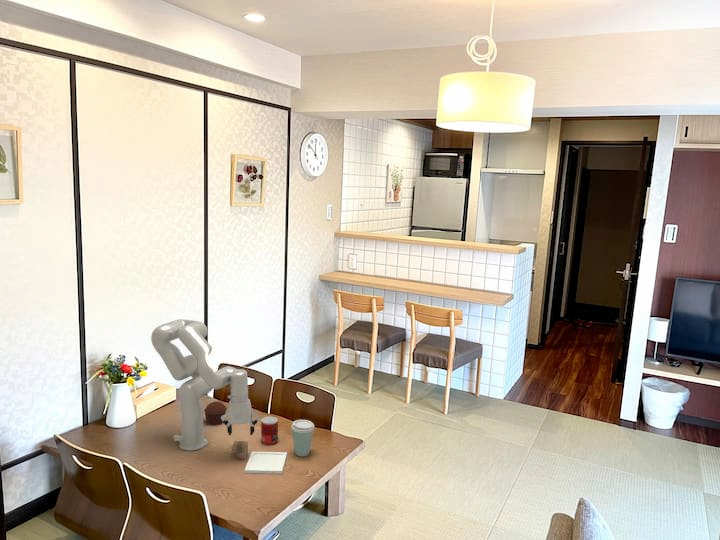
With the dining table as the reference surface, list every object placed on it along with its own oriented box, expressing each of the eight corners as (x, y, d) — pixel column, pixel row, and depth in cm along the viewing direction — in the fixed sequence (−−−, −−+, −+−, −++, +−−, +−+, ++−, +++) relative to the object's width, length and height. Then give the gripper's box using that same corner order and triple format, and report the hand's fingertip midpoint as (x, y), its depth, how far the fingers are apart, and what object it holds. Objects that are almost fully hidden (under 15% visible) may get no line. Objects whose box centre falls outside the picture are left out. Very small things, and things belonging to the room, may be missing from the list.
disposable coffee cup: (304, 445, 257) (304, 415, 254) (319, 453, 249) (319, 423, 247) (286, 452, 249) (286, 422, 247) (300, 461, 242) (301, 430, 239)
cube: (231, 459, 242) (231, 447, 241) (234, 453, 248) (234, 441, 247) (245, 460, 242) (245, 447, 241) (247, 453, 248) (247, 441, 247)
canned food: (274, 446, 255) (274, 424, 254) (258, 444, 257) (258, 422, 255) (280, 438, 263) (280, 417, 261) (264, 436, 264) (264, 415, 263)
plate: (244, 473, 231) (244, 470, 231) (251, 454, 247) (251, 451, 247) (282, 474, 231) (282, 470, 231) (287, 455, 247) (286, 452, 247)
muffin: (202, 418, 282) (202, 400, 281) (224, 415, 287) (224, 397, 285) (206, 428, 272) (206, 409, 270) (228, 424, 276) (228, 406, 275)
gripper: (217, 401, 237) (219, 438, 239) (257, 400, 237) (258, 437, 239) (222, 394, 244) (223, 430, 247) (260, 394, 244) (261, 430, 247)
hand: (241, 434), depth 243 cm, fingers open, 9 cm apart
